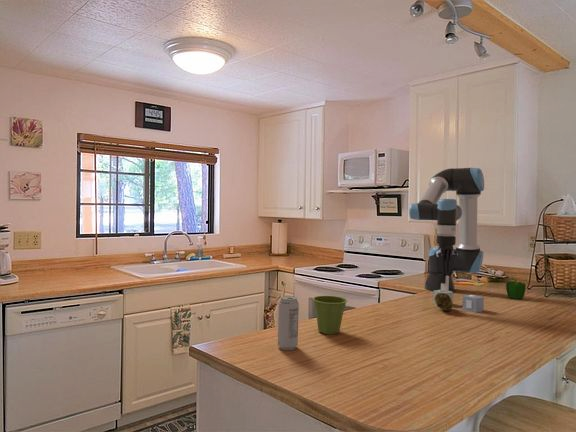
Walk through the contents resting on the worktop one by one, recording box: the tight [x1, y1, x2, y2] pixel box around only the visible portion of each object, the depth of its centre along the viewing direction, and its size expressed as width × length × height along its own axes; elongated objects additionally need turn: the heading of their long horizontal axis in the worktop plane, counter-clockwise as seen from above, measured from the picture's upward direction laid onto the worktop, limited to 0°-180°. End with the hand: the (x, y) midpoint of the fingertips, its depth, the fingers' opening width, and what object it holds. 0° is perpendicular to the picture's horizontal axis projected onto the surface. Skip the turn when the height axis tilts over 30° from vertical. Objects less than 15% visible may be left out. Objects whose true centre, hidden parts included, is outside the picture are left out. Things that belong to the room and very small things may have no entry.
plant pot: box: [312, 295, 349, 336], centre depth 148 cm, size 12×12×11 cm
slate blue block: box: [462, 294, 485, 314], centre depth 186 cm, size 6×6×6 cm
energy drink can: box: [277, 295, 300, 351], centre depth 130 cm, size 6×6×15 cm
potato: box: [434, 293, 454, 312], centre depth 184 cm, size 8×13×8 cm, turn 137°
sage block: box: [432, 290, 454, 305], centre depth 196 cm, size 6×6×6 cm
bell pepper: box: [505, 277, 527, 300], centre depth 214 cm, size 8×8×10 cm
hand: (444, 291), depth 183 cm, fingers closed
